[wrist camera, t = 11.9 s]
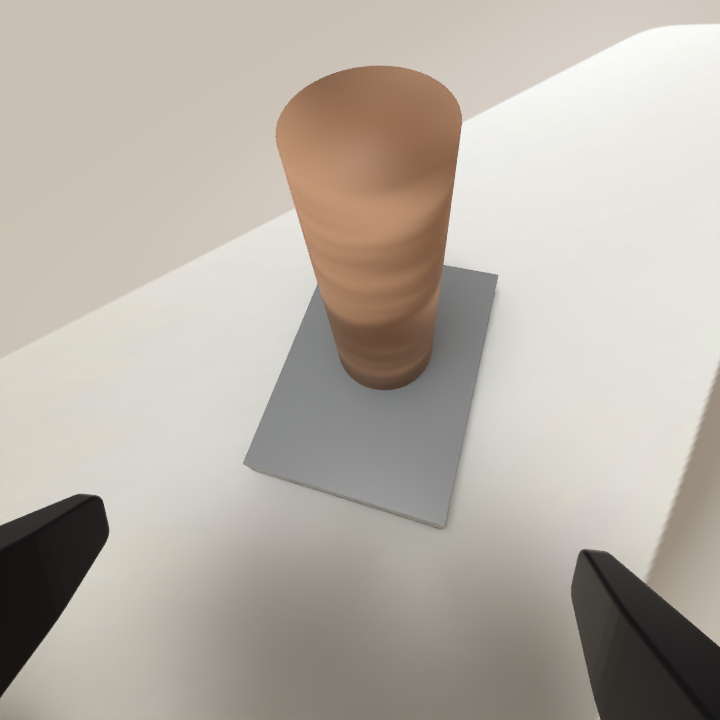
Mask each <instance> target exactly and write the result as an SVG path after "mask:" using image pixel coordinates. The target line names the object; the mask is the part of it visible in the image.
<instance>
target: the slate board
mask: <svg viewBox="0 0 720 720" xmlns="http://www.w3.org/2000/svg"><path fill="white" fill-rule="evenodd" d="M497 279H498V275H496V274H490V273H485V272H479V271H474V270H468V269H463V268H457V267H451V266H446V265H443V270H442V278H441V285H440V293H439V300H438V308H437V315H436V323H435V331H434V338H433V346H432V353H431V358H430V361H429V364H428V366H427V367H426V369H425V370H424V372H423V373H422V374H421V375H420V376H419V377H418V378H417V379H416V380H415V381H413V382H412V383H410V384H408V385H406V386H404V387H401V388H398V389H393V390H376V389H372V388H368V387H365V386H363V385H361V384H359V383H358V382H356V381H355V380H354V379H352V378H351V377H350V376H349V375H348V374H347V372H346V371H345V369H344V367H343V365H342V363H341V360H340V357H339V354H338V350H337V347H336V344H335V340H334V337H333V333H332V330H331V327H330V323H329V320H328V316H327V313H326V310H325V306H324V303H323V300H322V296H321V293H320V289H319V286H318V284H317V287H316V289H315V291H314V294H313V296H312V299H311V301H310V303H309V306H308V308H307V311H306V313H305V315H304V318H303V320H302V323H301V325H300V328H299V330H298V332H297V335H296V337H295V340H294V342H293V344H292V347H291V349H290V352H289V354H288V356H287V359H286V361H285V364H284V366H283V368H282V371H281V373H280V376H279V378H278V380H277V383H276V385H275V388H274V390H273V392H272V395H271V397H270V400H269V402H268V404H267V407H266V409H265V412H264V414H263V417H262V419H261V421H260V424H259V426H258V429H257V431H256V433H255V436H254V438H253V441H252V443H251V445H250V448H249V450H248V453H247V455H246V457H245V460H244V462H243V464H244V465H246V466H247V467H249V468H251V469H252V470H255V471H258V472H261V473H264V474H267V475H271V476H274V477H277V478H280V479H283V480H287V481H290V482H293V483H296V484H299V485H303V486H306V487H309V488H312V489H315V490H319V491H322V492H325V493H328V494H331V495H334V496H338V497H341V498H344V499H347V500H350V501H354V502H357V503H360V504H363V505H366V506H370V507H373V508H376V509H379V510H382V511H386V512H389V513H392V514H395V515H398V516H402V517H405V518H408V519H411V520H414V521H417V522H421V523H424V524H427V525H430V526H433V527H437V528H440V529H443V528H444V526H445V522H446V517H447V513H448V508H449V503H450V499H451V494H452V489H453V485H454V480H455V475H456V471H457V466H458V461H459V457H460V452H461V447H462V443H463V438H464V433H465V429H466V424H467V419H468V414H469V410H470V405H471V400H472V396H473V391H474V386H475V382H476V377H477V372H478V368H479V363H480V358H481V354H482V349H483V344H484V340H485V335H486V330H487V326H488V321H489V316H490V312H491V307H492V302H493V298H494V293H495V288H496V284H497Z"/></svg>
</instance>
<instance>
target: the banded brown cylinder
mask: <svg viewBox="0 0 720 720" xmlns="http://www.w3.org/2000/svg"><path fill="white" fill-rule="evenodd" d="M461 126H462V115H461V111H460V107H459V105H458V102H457V100H456V99H455V97H454V96H453V94H452V93H451V92H450V91H449V90H448V89H447V88H446V87H445V86H444V85H442V84H441V83H440V82H438V81H437V80H435V79H433V78H432V77H430V76H428V75H425V74H423V73H420V72H417V71H414V70H411V69H406V68H401V67H392V66H366V67H358V68H352V69H348V70H343V71H340V72H337V73H334V74H331V75H328V76H326V77H323V78H321V79H319V80H318V81H315V82H314V83H312V84H310V85H308V86H307V87H305V88H304V89H303V90H301V91H300V92H299V93H298V94H297V95H295V96H294V97H293V98H292V99H291V100H290V102H289V103H288V104H287V105H286V106H285V108H284V110H283V111H282V113H281V115H280V117H279V119H278V123H277V127H276V143H277V147H278V151H279V154H280V157H281V161H282V164H283V167H284V171H285V174H286V177H287V181H288V184H289V188H290V191H291V195H292V198H293V201H294V204H295V208H296V212H297V215H298V218H299V222H300V225H301V228H302V232H303V235H304V239H305V242H306V245H307V249H308V252H309V256H310V259H311V262H312V266H313V269H314V272H315V276H316V279H317V283H318V286H319V289H320V293H321V296H322V300H323V303H324V306H325V310H326V313H327V316H328V320H329V323H330V327H331V330H332V333H333V337H334V340H335V344H336V347H337V350H338V354H339V357H340V360H341V363H342V365H343V367H344V369H345V371H346V372H347V374H348V375H349V376H350V377H351V378H352V379H354V380H355V381H356V382H358V383H359V384H361V385H363V386H365V387H368V388H372V389H376V390H393V389H398V388H401V387H404V386H406V385H408V384H410V383H412V382H413V381H415V380H416V379H417V378H418V377H419V376H420V375H421V374H422V373H423V372H424V370H425V369H426V367H427V366H428V364H429V361H430V358H431V353H432V346H433V338H434V331H435V323H436V315H437V308H438V300H439V293H440V285H441V278H442V270H443V262H444V255H445V247H446V240H447V232H448V224H449V217H450V209H451V202H452V194H453V186H454V179H455V171H456V164H457V156H458V148H459V141H460V133H461Z"/></svg>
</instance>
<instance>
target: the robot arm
mask: <svg viewBox="0 0 720 720" xmlns="http://www.w3.org/2000/svg"><path fill="white" fill-rule="evenodd" d="M108 536H109V525H108V521H107V516H106V512H105V507H104V503H103V500H102V499H101V498H100V497H99V496H97V495H89V494H77V495H74V496H71V497H69V498H67V499H64V500H62V501H59V502H57V503H54V504H52V505H49V506H47V507H45V508H42V509H40V510H37V511H35V512H32V513H30V514H27V515H25V516H23V517H20V518H18V519H15V520H13V521H10V522H8V523H6V524H3V525H1V526H0V698H1V696H2V695H3V694H4V692H5V691H6V690H7V688H8V687H9V685H10V684H11V683H12V681H13V680H14V679H15V677H16V676H17V675H18V673H19V672H20V671H21V669H22V668H23V666H24V665H25V664H26V662H27V661H28V660H29V658H30V657H31V656H32V654H33V653H34V652H35V650H36V649H37V647H38V646H39V645H40V643H41V642H42V641H43V639H44V638H45V637H46V635H47V634H48V632H49V631H50V630H51V628H52V627H53V625H54V624H55V623H56V621H57V620H58V618H59V617H60V615H61V614H62V612H63V611H64V609H65V608H66V606H67V605H68V603H69V601H70V600H71V598H72V597H73V595H74V593H75V592H76V590H77V588H78V587H79V585H80V584H81V582H82V580H83V579H84V577H85V575H86V574H87V572H88V571H89V569H90V567H91V566H92V564H93V563H94V561H95V559H96V558H97V556H98V554H99V553H100V551H101V550H102V548H103V546H104V545H105V543H106V541H107V539H108ZM571 596H572V603H573V607H574V611H575V616H576V620H577V625H578V629H579V634H580V638H581V643H582V647H583V652H584V656H585V661H586V665H587V670H588V674H589V679H590V683H591V687H592V691H593V695H594V699H595V703H596V706H597V709H598V713H599V716H600V719H601V720H720V647H719V646H718V645H717V644H716V643H714V642H713V641H712V640H711V639H710V638H709V637H707V636H706V635H705V634H704V633H702V632H701V631H700V630H699V629H698V628H697V627H696V626H694V625H693V624H692V623H691V622H689V621H688V620H687V619H686V618H685V617H684V616H683V615H682V614H680V613H679V612H678V611H677V610H676V609H674V608H673V607H672V606H671V605H670V604H669V603H667V602H666V601H665V600H664V599H663V598H662V597H660V596H659V595H658V594H657V593H656V592H654V591H653V590H652V589H651V588H650V587H649V586H647V585H646V584H645V583H644V582H643V581H642V580H640V579H639V578H638V577H637V576H636V575H635V574H633V573H632V572H631V571H630V570H629V569H627V568H626V567H625V566H624V565H623V564H622V563H620V562H619V561H618V560H617V559H616V558H615V557H613V556H612V555H611V554H609V553H608V552H605V551H599V550H590V549H583V550H581V551H580V553H579V555H578V558H577V563H576V567H575V572H574V576H573V581H572V585H571Z"/></svg>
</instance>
